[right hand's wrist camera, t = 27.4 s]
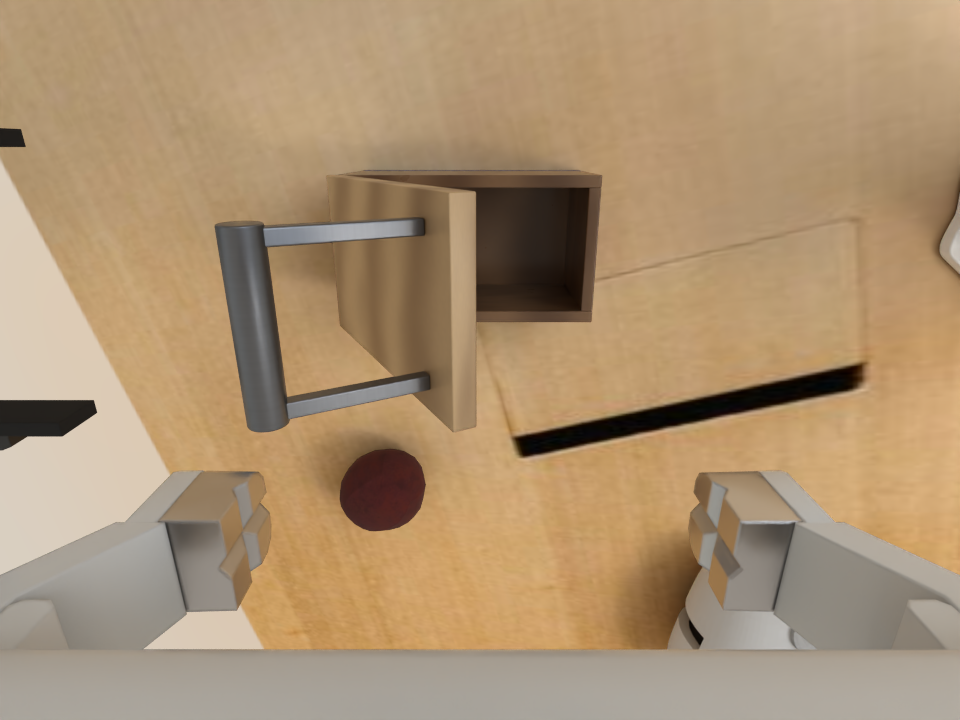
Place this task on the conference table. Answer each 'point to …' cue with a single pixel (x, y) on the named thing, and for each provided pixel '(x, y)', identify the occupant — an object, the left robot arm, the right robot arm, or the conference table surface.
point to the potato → (382, 490)
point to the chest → (526, 239)
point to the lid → (367, 299)
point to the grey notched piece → (728, 625)
